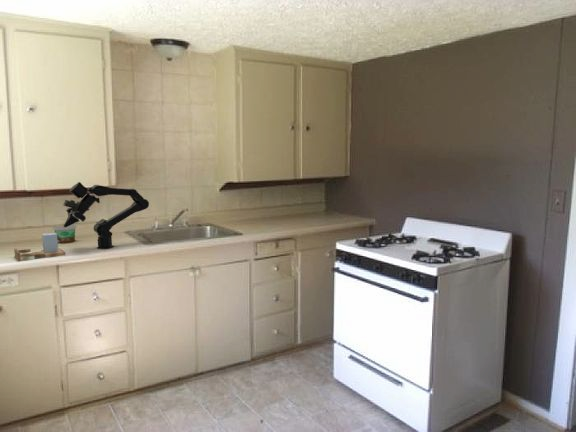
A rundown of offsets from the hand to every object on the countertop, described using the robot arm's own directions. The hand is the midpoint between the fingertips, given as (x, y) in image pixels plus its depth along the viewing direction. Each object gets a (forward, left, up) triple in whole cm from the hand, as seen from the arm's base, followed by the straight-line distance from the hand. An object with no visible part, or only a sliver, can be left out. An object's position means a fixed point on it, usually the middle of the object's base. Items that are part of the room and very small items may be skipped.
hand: (64, 226), depth 242 cm
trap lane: (+8, +9, -14) cm, 19 cm away
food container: (+17, -23, -14) cm, 32 cm away
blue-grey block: (+5, +5, -12) cm, 14 cm away
